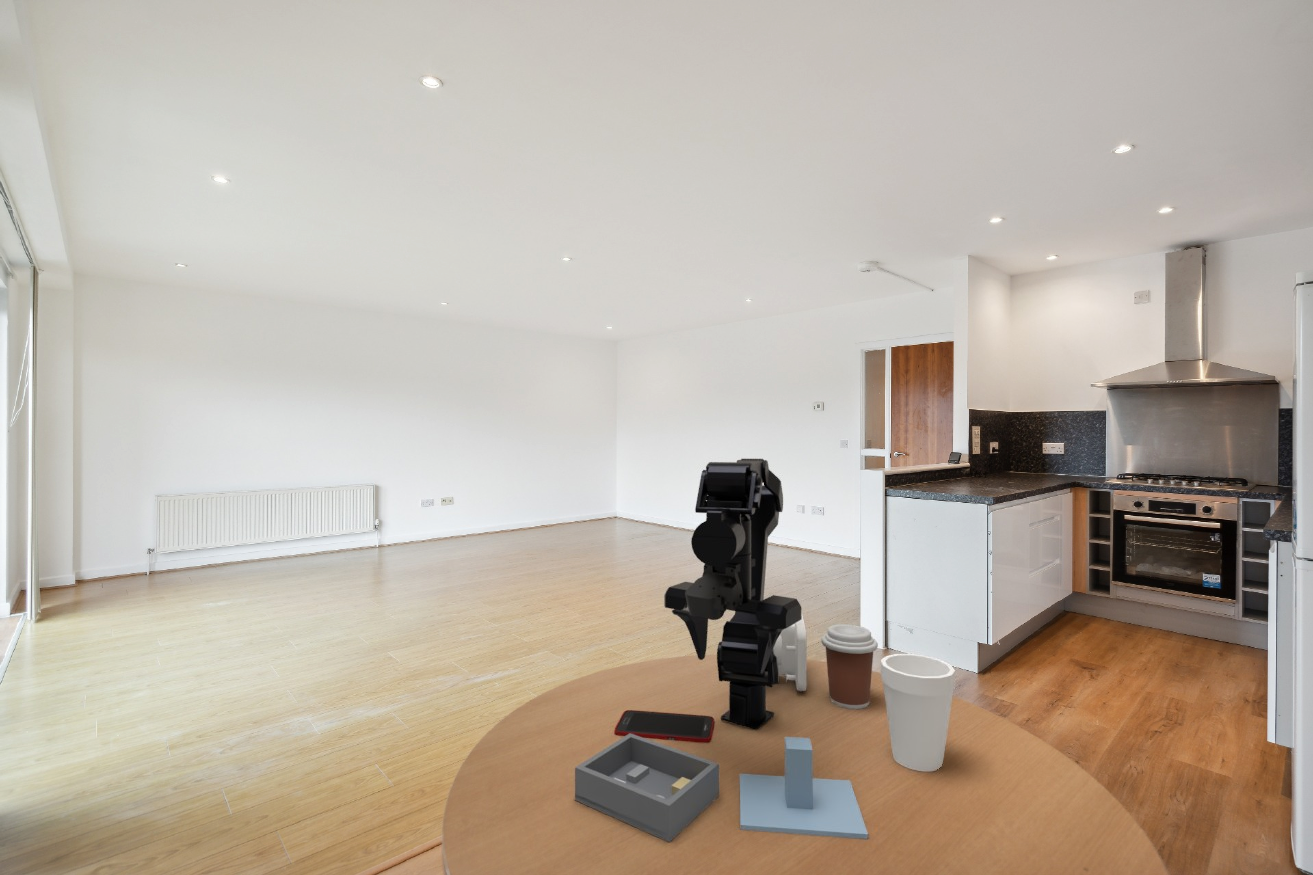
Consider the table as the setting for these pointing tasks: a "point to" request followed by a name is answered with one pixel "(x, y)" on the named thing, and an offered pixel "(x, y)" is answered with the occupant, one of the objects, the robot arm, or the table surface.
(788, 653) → the cable organizer
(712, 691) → the table surface
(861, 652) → the coffee cup
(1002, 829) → the table surface
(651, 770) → the parts tub
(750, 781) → the tub lid
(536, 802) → the table surface
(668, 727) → the cell phone
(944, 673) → the foam cup
